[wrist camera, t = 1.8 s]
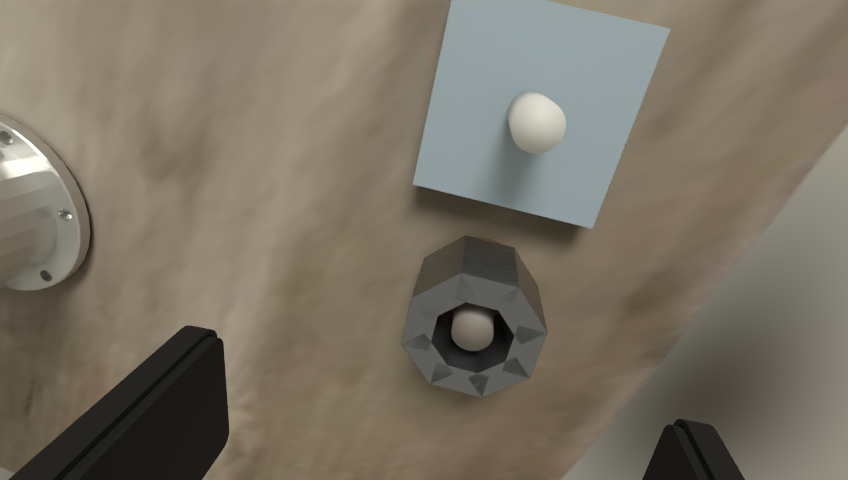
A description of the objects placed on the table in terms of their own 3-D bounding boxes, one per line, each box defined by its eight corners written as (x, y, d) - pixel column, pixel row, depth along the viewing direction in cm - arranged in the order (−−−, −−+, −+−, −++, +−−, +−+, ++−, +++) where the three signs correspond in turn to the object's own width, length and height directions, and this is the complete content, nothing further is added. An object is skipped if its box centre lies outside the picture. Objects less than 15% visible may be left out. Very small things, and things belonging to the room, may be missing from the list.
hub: (585, 216, 26) (613, 263, 20) (417, 175, 27) (397, 210, 21) (655, 30, 22) (715, 22, 17) (458, -15, 23) (447, -39, 17)
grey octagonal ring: (514, 352, 29) (518, 407, 25) (408, 324, 30) (393, 374, 25) (548, 256, 27) (560, 298, 22) (431, 227, 27) (420, 262, 22)
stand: (510, 338, 30) (514, 395, 25) (416, 314, 30) (401, 365, 25) (540, 252, 28) (551, 297, 23) (437, 227, 28) (426, 265, 23)
